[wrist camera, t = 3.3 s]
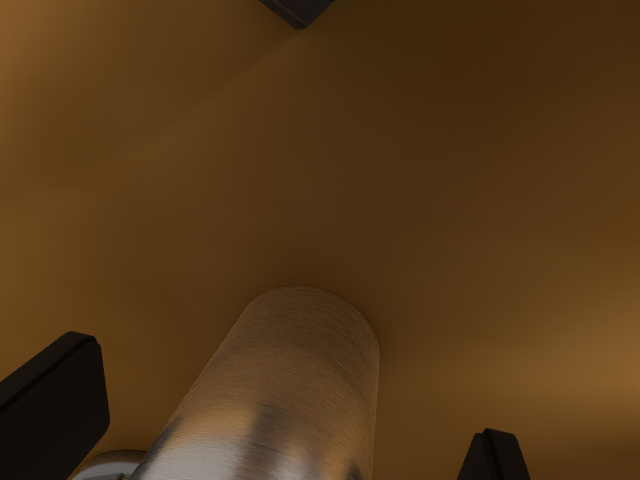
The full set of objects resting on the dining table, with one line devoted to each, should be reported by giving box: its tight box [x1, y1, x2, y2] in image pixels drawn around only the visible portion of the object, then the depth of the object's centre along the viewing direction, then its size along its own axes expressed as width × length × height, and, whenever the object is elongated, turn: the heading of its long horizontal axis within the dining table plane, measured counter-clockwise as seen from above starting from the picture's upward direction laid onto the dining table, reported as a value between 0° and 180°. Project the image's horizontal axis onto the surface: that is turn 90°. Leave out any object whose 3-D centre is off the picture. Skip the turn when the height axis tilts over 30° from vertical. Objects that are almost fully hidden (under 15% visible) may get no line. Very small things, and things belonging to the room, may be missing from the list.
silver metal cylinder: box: [128, 286, 380, 480], centre depth 8 cm, size 5×5×8 cm
